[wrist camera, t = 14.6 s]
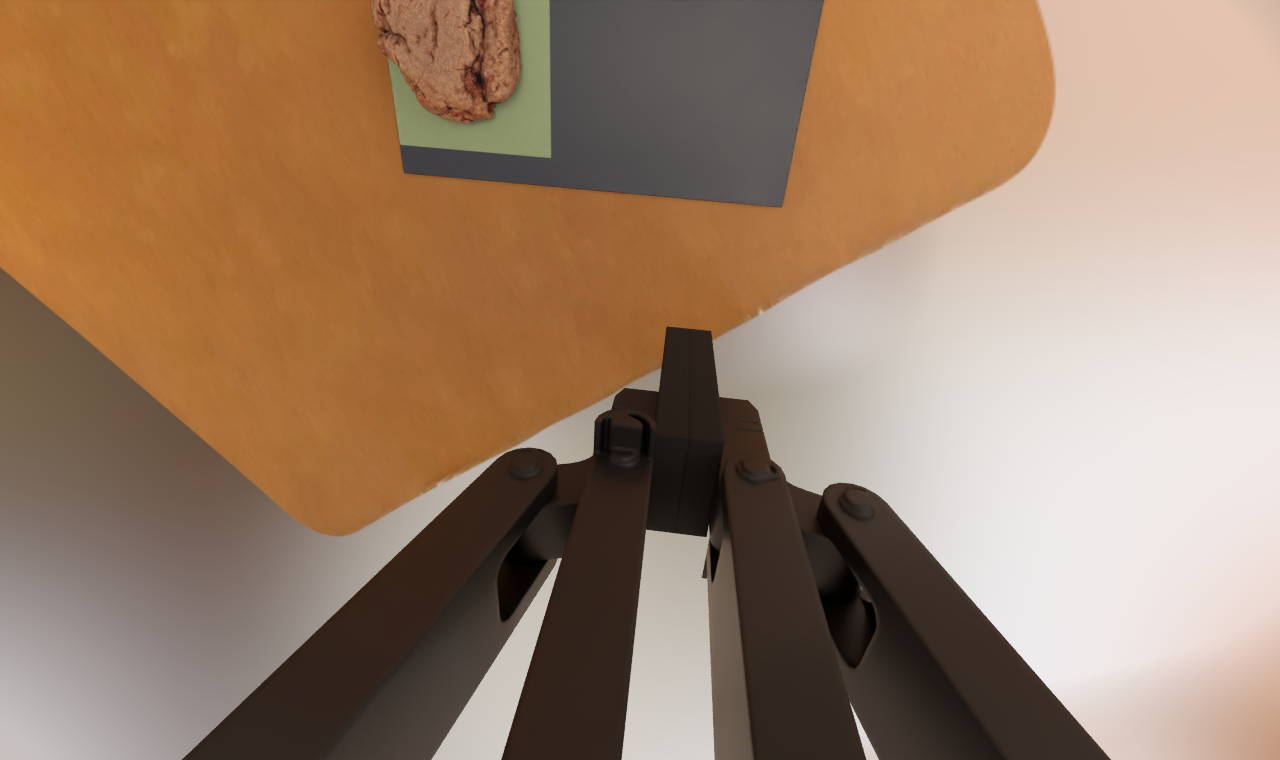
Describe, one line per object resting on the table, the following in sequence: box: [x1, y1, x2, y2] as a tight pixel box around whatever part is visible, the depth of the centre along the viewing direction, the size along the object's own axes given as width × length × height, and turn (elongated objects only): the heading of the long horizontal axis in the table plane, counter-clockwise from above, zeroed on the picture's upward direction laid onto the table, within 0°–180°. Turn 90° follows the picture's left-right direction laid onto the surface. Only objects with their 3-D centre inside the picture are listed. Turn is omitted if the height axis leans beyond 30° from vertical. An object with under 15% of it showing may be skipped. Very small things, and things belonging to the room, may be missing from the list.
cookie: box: [371, 0, 521, 123], centre depth 32 cm, size 10×11×3 cm
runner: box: [388, 0, 824, 207], centre depth 33 cm, size 18×30×1 cm, turn 86°
